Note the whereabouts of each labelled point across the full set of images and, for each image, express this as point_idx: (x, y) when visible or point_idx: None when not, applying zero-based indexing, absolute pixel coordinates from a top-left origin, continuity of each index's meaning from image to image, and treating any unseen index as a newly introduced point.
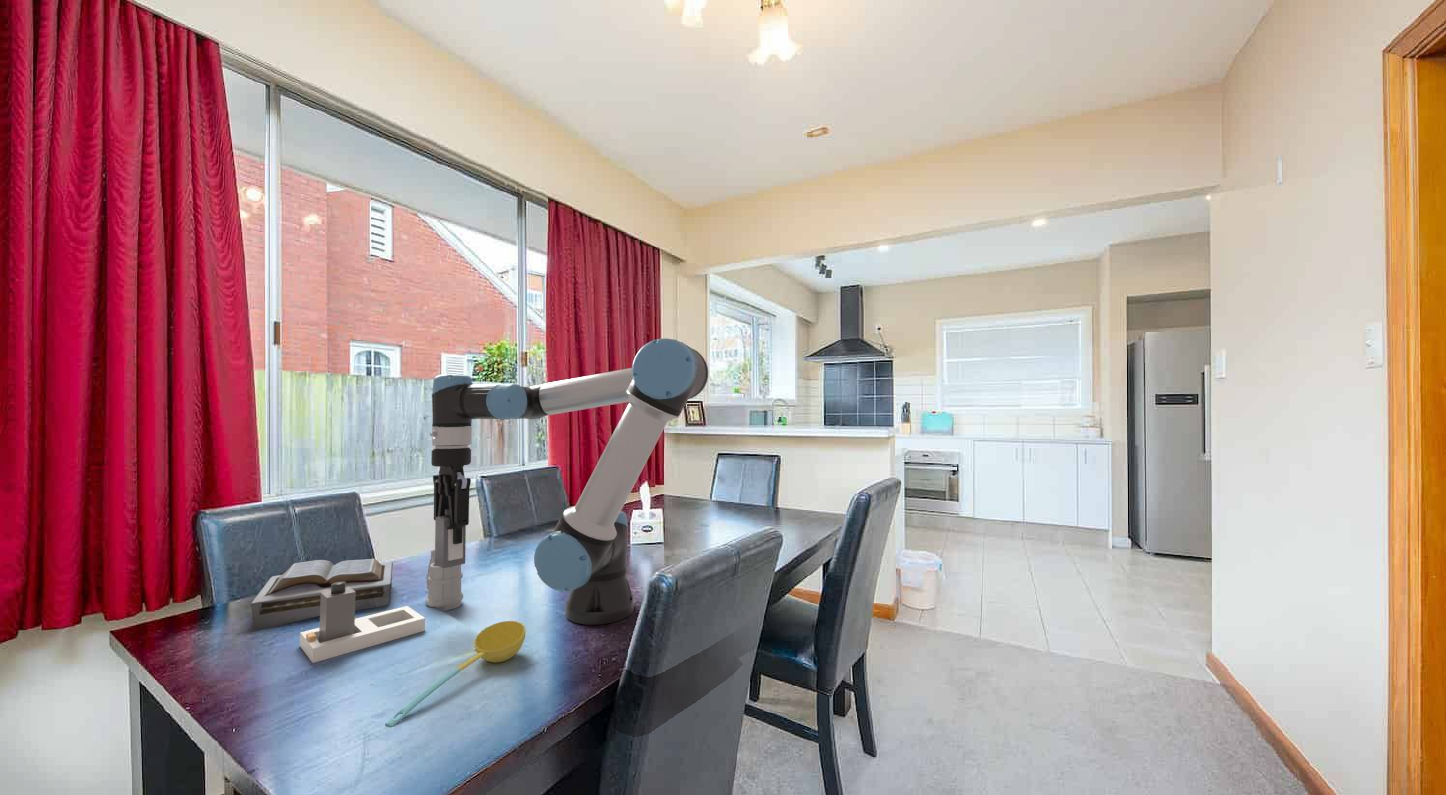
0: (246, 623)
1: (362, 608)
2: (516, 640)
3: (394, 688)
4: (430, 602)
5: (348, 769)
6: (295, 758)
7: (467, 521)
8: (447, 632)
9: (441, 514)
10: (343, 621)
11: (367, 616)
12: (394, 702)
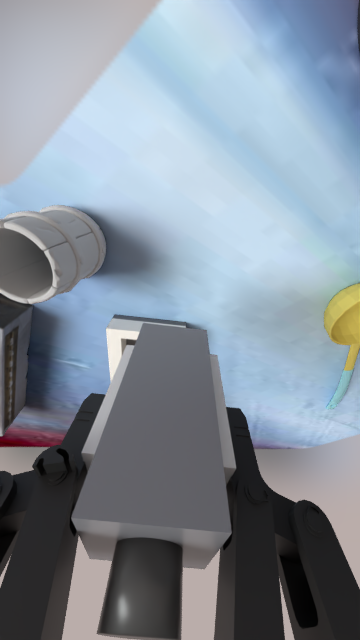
0: None
1: (25, 337)
2: None
3: (281, 386)
4: (83, 278)
5: (346, 430)
6: (301, 438)
7: (333, 538)
8: (201, 299)
9: (73, 563)
10: None
11: (113, 371)
12: (303, 394)
